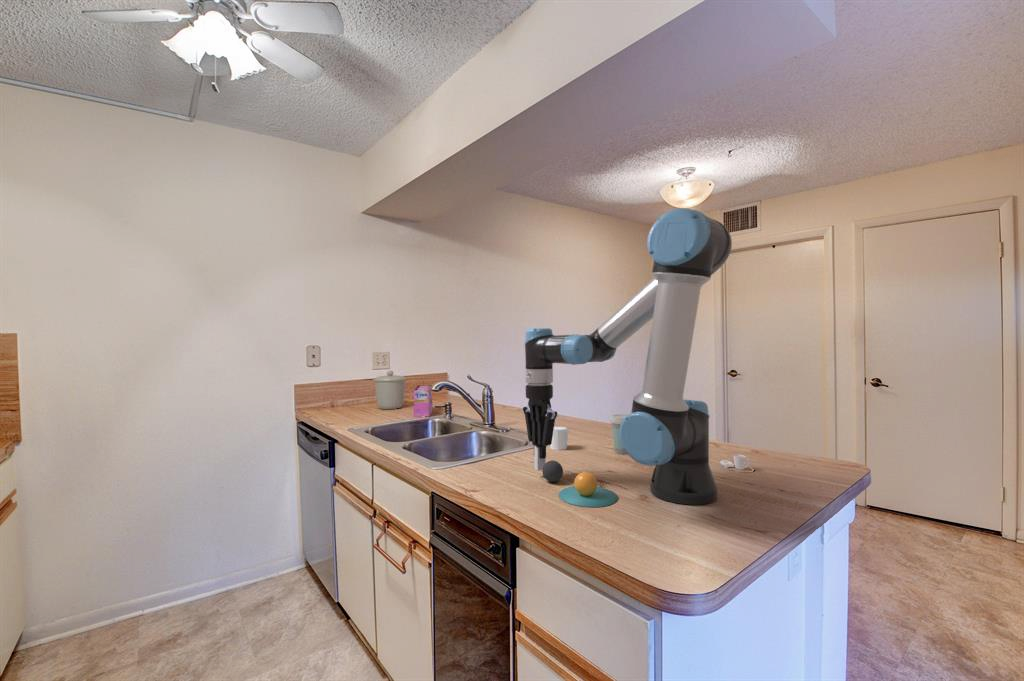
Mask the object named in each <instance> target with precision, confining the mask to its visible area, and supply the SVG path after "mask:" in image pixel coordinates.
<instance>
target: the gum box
mask: <svg viewBox="0 0 1024 681" xmlns="http://www.w3.org/2000/svg"><path fill="white" fill-rule="evenodd" d="M431 389H432V391H431ZM433 408H434V407H433V385H432V384H429V385H428V386H426V385H425V386H423V385H422V386H421V385H417V386H416V387H415V389H414V390H413V418H414V417H416V418H423V417H422V416H430V417H431V414H432V412H433V410H432V409H433Z"/></svg>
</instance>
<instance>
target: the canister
mask: <svg viewBox="0 0 1024 681" xmlns="http://www.w3.org/2000/svg"><path fill="white" fill-rule="evenodd" d="M372 380H373V381H374V387H375V388H374V389H375V398H376V403H377V404H376V405H377V407H378V408H379V409H381V410H398V409H401V408H402V407H403V404H404V401H405V400H404V399H405V388H406V380H407V377H405V376H403V375H397V374H396V375H394V371H393V370H387V372H386V375H381V376H380V375H379V376H377V377H375V378H374V379H372ZM397 408H398V409H397Z"/></svg>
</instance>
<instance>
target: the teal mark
mask: <svg viewBox="0 0 1024 681" xmlns="http://www.w3.org/2000/svg"><path fill="white" fill-rule="evenodd" d="M558 498H559V499H560V500H561V501H563V502H564V503H566V504H569V505H571V506H577V507H582V508H602V507H608V506H611V505H613V504H615V503H617V502H618V499H619V496H618V495H617V493H616V492H614V491H613V490H610V489H607V488H604V487H601V486H597V489H596V491H595V492H594V493H593V494H592V495H590V496H583V495H581V494H579V493H578V492H577V491H576V489H575V486H568V487H565V488H562V489H561V490H560V491H559V492H558Z"/></svg>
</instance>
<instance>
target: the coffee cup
mask: <svg viewBox="0 0 1024 681" xmlns="http://www.w3.org/2000/svg"><path fill="white" fill-rule="evenodd" d="M628 415H629V414H624V413H623V414H619V413H618V414H613V415H612V416H611V419H610V423H611V429H612V438H613V445H614V452H615V454H618V453H619V454H618V455H625V454H627V452H626V450H625V449H624V448H623V446H622V444H621V440H620V434H619V431H620V426H621V423H622V421H623V420H624V419H625V418H626V417H627V416H628ZM627 455H628V454H627Z"/></svg>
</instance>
